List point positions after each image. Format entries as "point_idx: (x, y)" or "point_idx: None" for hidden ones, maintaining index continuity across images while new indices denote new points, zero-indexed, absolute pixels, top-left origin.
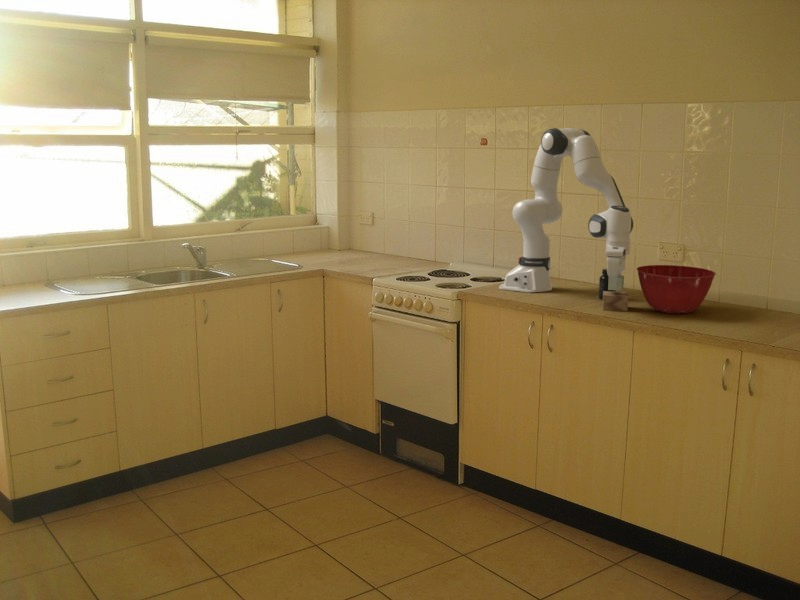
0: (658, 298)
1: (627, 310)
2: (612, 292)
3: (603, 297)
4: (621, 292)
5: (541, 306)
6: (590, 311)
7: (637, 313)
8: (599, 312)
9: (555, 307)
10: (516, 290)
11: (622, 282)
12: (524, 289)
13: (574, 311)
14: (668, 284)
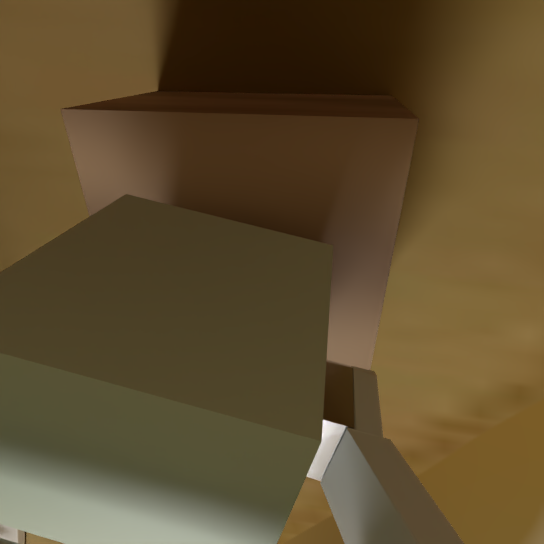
0: None
1: (391, 96)
2: None
3: None
4: (134, 192)
5: (295, 528)
6: (410, 376)
7: None
8: (447, 331)
9: (308, 494)
10: (22, 535)
11: (228, 299)
12: (13, 528)
13: (413, 447)
14: None
